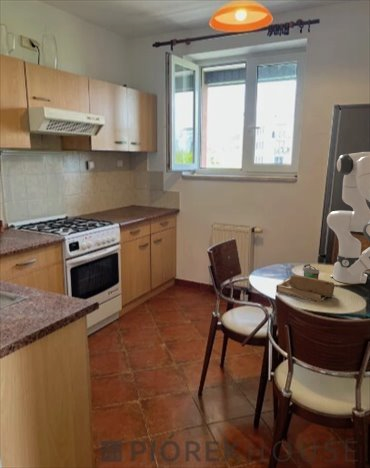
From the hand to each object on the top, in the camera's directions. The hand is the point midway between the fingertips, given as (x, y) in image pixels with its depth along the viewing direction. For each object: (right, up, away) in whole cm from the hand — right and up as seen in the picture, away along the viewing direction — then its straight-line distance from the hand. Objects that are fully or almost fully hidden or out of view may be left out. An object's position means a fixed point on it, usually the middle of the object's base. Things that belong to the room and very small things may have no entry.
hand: (347, 274), depth 164 cm
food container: (-9, -9, +28) cm, 31 cm away
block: (-4, -8, +7) cm, 11 cm away
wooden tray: (-15, -11, +16) cm, 25 cm away
